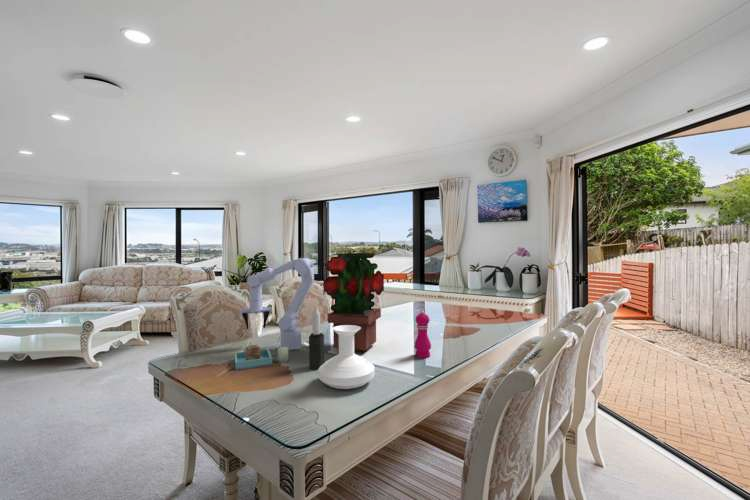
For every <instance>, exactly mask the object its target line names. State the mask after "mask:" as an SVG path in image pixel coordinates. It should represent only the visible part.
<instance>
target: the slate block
mask: <svg viewBox="0 0 750 500" xmlns="http://www.w3.org/2000/svg"><path fill="white" fill-rule="evenodd" d="M265 349H269V351H270V354H271V356H276V347H275V346H266V347H265Z"/></svg>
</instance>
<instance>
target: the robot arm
mask: <svg viewBox="0 0 750 500" xmlns="http://www.w3.org/2000/svg"><path fill="white" fill-rule="evenodd" d="M314 267H315V266H314V263H313V262H312V260H311V258H309V257H302V258H301V257H299V258H296V259H293V260H290V261H287V262H286V263H283V264H281V265H280V266H277V267H275V268H272V267H266V268H264V270H262V271H260V272H258V271H257V272H256V274H251V275H250V276H248V277H247V279H246V284H247V286H249V288H248V289H249V291H248V293H249V294H248V298H249V299H248V301H249V308H245V309H244V308H243V309H239V315H242V318H243V320H244V322H245V326H246V330H249V314H257V313H258V314H259V313H260V314H261V313H262V314H263V324H262V325H263V326H262V327H263V328H266V327H267V326H266V324H267V320H268V318H269V316H270V313H272V312H273V310H272V307H263V291H262V290H263V289H262V288H263V287H262V286H263V285H264V284H267V283H269V282H271V281H273V280H275V279H276V278H277V276H278V275H280V274H283V273H285V272H287V271H290V270H292V271H296V272H297V273H298V274H299V276H300V278H301V282H300V284H299V286H298V287H297V290H296V291H295V294H294V295H293V299H292V301H291V302H290V305H289V307H288V308H287V310H286V311H285V313H284V314H283V316H282V317H281V318H280V319H279V320H278V324H277V325H278V327H279V329H280V345H278V348H280V347H288V351H293V350H294V351H295V350H301V349H302V332H301V329H300V328H297V324H298V320H299V319H298V318H299V316H300V313H299V312H300V310H301V308H302V307H303V304H304V301H305V300H306V298H307V296H308V293H309V291H310V289H311V286H312V285H313V283H314V280H315V272H314V271H315V270H314Z"/></svg>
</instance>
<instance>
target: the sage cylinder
mask: <svg viewBox="0 0 750 500" xmlns="http://www.w3.org/2000/svg"><path fill="white" fill-rule="evenodd" d="M288 361H289V350H288V347H280V348H279V347H278V348H277V362H280V363H283V362H288Z"/></svg>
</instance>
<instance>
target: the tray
mask: <svg viewBox="0 0 750 500" xmlns="http://www.w3.org/2000/svg"><path fill="white" fill-rule="evenodd" d="M234 366H235V367H234V368H235V369H234V370H235V371H240V370H248V369H255V368H261V367H270V366H273V355H271V354H270V351H269V349H266V348H264V349H260V359H255V360H247V361H246V351H239V352H238V351H237V352H234Z"/></svg>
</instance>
